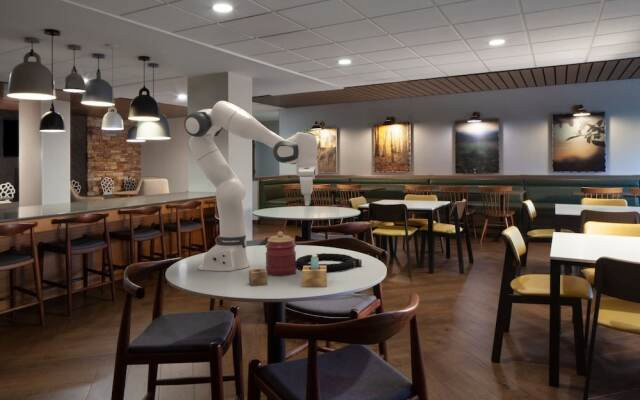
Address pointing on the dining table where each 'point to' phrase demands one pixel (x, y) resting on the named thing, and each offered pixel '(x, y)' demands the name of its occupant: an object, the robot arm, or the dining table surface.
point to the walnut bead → (258, 277)
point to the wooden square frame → (314, 276)
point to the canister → (280, 255)
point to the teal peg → (314, 262)
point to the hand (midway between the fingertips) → (307, 204)
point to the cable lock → (346, 259)
